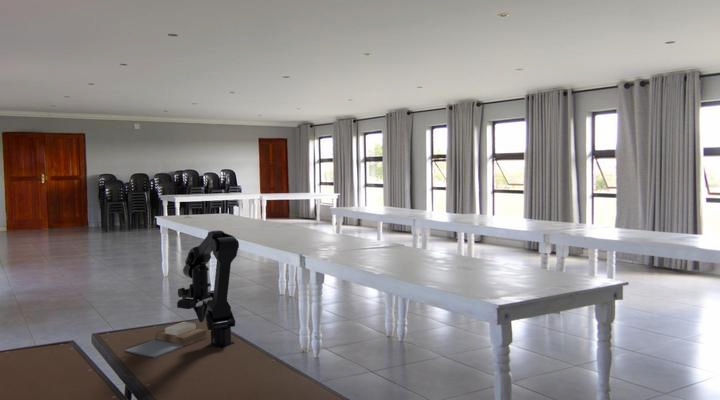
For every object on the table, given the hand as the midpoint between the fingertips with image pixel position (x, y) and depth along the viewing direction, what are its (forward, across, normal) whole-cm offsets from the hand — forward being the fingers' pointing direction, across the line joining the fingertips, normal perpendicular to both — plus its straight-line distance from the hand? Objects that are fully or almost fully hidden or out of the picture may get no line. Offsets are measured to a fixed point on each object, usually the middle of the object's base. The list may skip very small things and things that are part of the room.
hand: (201, 321), depth 217 cm
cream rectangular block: (+1, +10, 0) cm, 10 cm away
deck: (+4, +10, 0) cm, 11 cm away
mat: (+4, +23, 0) cm, 23 cm away
